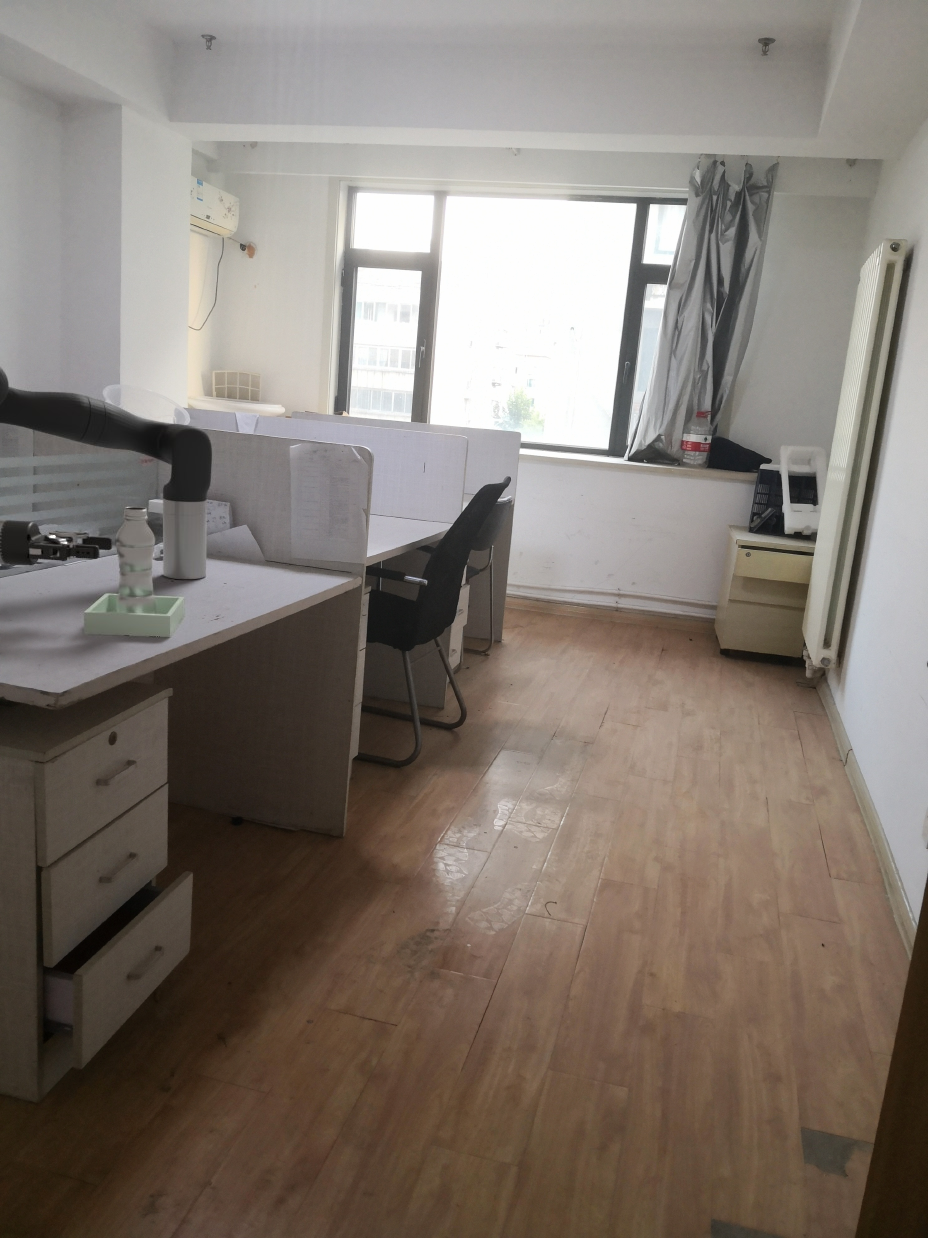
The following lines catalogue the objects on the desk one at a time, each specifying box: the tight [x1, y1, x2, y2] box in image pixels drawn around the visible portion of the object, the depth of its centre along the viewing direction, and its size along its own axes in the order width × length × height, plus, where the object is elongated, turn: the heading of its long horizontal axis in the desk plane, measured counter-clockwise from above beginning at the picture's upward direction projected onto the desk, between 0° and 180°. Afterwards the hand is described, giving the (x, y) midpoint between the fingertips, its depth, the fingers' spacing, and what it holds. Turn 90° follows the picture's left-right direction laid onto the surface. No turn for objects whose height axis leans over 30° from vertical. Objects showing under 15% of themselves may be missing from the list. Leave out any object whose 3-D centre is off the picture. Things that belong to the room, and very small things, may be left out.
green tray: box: [83, 592, 186, 638], centre depth 155 cm, size 14×14×4 cm
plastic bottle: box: [114, 506, 156, 614], centre depth 152 cm, size 6×7×20 cm
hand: (105, 548), depth 151 cm, fingers open, 8 cm apart
